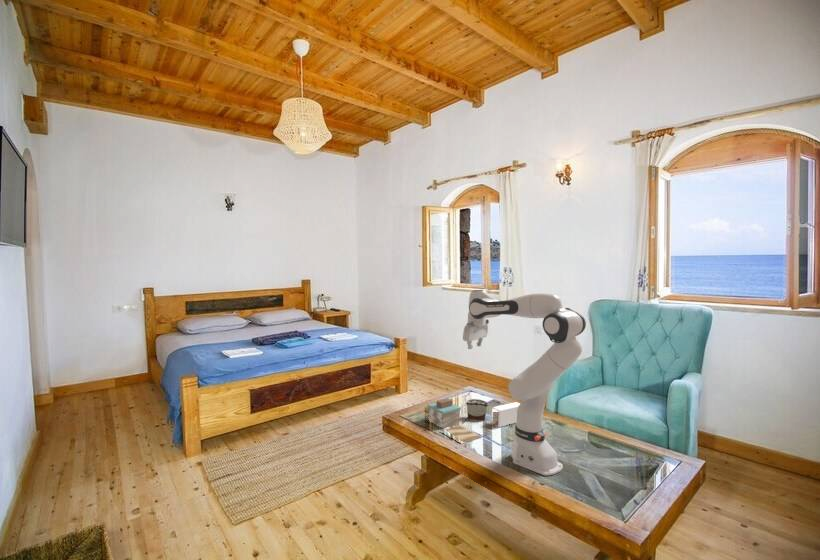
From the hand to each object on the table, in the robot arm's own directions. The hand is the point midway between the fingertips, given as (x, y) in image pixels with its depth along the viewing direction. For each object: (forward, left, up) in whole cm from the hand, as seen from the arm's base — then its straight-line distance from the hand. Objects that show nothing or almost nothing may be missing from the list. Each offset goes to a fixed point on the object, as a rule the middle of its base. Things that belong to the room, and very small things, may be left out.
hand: (474, 347), depth 206 cm
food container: (+10, -15, -44) cm, 48 cm away
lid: (+15, +5, -37) cm, 40 cm away
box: (+15, +5, -44) cm, 47 cm away
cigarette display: (-4, -25, -44) cm, 51 cm away
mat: (-1, +8, -44) cm, 45 cm away
